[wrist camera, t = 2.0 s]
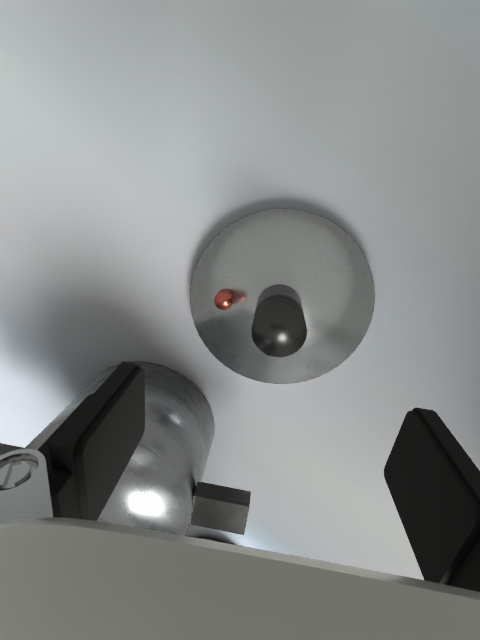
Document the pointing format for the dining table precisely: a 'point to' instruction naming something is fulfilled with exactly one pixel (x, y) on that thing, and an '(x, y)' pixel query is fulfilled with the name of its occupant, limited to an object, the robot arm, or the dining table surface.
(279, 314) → the lid
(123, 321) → the dining table surface
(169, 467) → the cooker pot
